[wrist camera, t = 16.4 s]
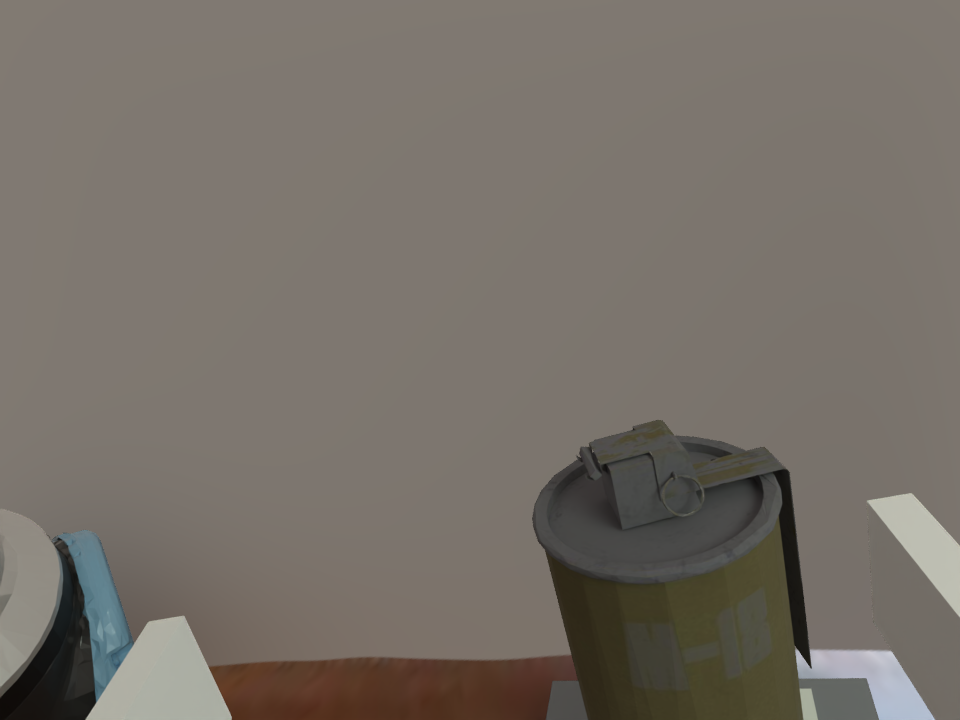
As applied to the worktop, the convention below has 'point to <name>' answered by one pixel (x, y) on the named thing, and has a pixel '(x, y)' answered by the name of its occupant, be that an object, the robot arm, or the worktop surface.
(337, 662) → the worktop surface
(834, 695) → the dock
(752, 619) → the canister
